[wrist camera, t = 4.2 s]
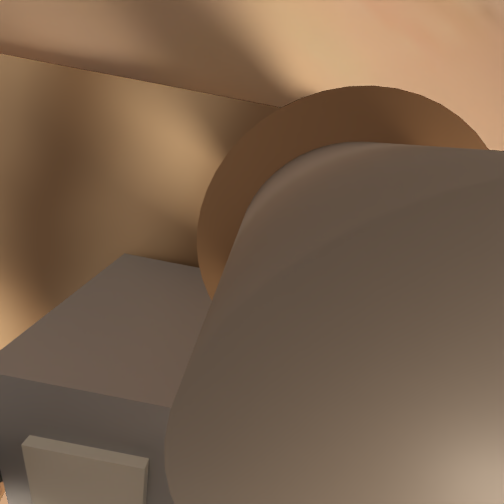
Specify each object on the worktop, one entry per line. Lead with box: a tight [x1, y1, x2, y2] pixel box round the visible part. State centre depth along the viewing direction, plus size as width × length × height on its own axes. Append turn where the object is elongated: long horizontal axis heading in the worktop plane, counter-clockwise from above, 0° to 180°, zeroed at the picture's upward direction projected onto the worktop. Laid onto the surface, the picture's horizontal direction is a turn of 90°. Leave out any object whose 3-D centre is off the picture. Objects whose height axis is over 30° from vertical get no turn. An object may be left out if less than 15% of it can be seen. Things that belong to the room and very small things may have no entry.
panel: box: [0, 54, 281, 350], centre depth 11 cm, size 18×12×1 cm, turn 80°
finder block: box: [0, 253, 212, 504], centre depth 9 cm, size 5×6×6 cm
